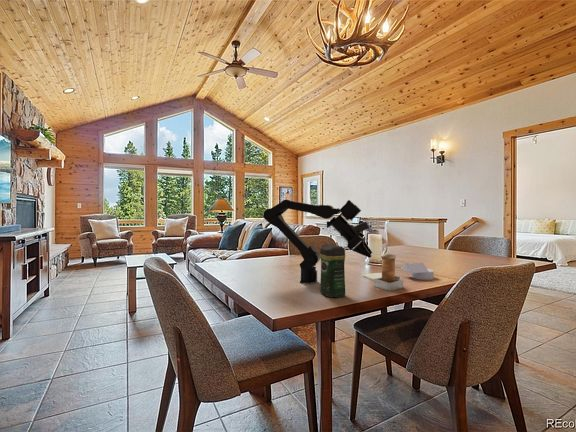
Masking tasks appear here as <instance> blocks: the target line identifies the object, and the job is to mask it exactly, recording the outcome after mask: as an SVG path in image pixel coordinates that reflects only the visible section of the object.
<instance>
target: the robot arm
mask: <svg viewBox="0 0 576 432" xmlns="http://www.w3.org/2000/svg"><path fill="white" fill-rule="evenodd" d="M287 210H292V211H299V212H304V213H309V214H312V215H315V216H317V217H319V218H322V219H323V220H324V219H325V220H329V219H330V221H326V228H330V227H331V226H332V228H333V229H334V230H336V231H337V232H338V233H339V235H340V237H341V238H342V237H343V238H344V240H346V243H347V244H346V245H347V248H348V249H349V250H350V251H353V252H355V253H357V254H359V255H362V256H365V257H366V258H369V259H370V258H372V254H373V252H372V249H370V247H369V246H368V243H366V236H365V234H364V233H363V232H364V231H366V230H369V229H370V228H371V227H370V226H369V223H368V221H366V220H365V221H363V220H360V221H358V224H356V225H353V224H350V223H349V222H348V221H349V220H351V221H353V219H355V218H356V216H357V215H359V213H361V212H362V210H361V208H359V206H357V204H355V203H354V202H353V201H352V200H350V199H348V200H347V201H346V203H345V204H344V205H343V206H342V207H341V208H339V207H338V208H335V207H334V206H332V205H329V204H311V203H305V202H300V201H294V200H290V199H283V200H282V201H281V202H279V203H278V204H276V205H273V206H272V207H270V208H266V209H265V210H264V211H263V219H264V221H266V222H267V223H269V224H270V225H271V226H274V227H276V228H277V229H278V230H279V231H280V232H281V233H282V234H283V235H284V236H285V238H286V239H287V240H289V242H290V243H291V244H292V245H293V246H294V247H296V249H297V250H298V251H299V253H300V255H301V258H302V259H303V260H302V261H301V262H300V263H299V267H300V281H299V283H301V284H302V283H303V284H304V283H305V284H316V282H317V281H318V270H317V266H316V265H317V264H318V262H319V261H321V257H320V249H318V248H317V247H316V246H315V245H314V244H311V245H309V244H308V243H306V242H305V240H303V238H302V237H301V236H299V235H298V234H297V232H296V231H295V230H294V229H293V228H292V227H291V225H289V224H288V223H287V222H286V221H285V219H284V216H283V214H284V213H285V212H286V211H287ZM335 215H338V216H335Z"/></svg>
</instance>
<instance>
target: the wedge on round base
mask: <svg viewBox="0 0 576 432" xmlns="http://www.w3.org/2000/svg"><path fill="white" fill-rule="evenodd" d="M400 270H402V271H405V272H408V273H411V277H412V279H417V280H427V281H428V280H429V281H430V280H434V273H435V271H434V270H433V269H432V268H431V269H430V268H427V267H426V265H425V264H424V262H413V263H410V262H409V263H404V265H402V267H401V268H400Z"/></svg>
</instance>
